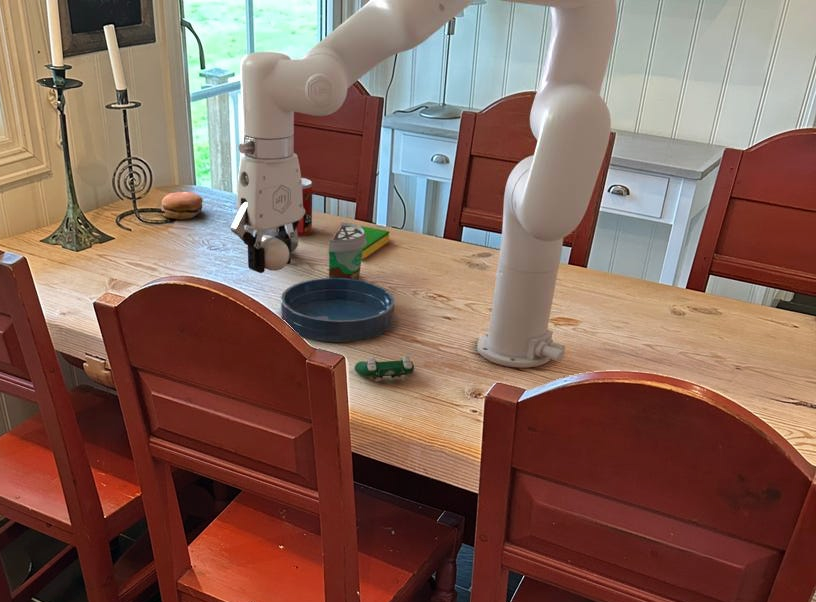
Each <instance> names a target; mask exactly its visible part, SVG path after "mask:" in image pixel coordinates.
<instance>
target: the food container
mask: <svg viewBox="0 0 816 602" xmlns="http://www.w3.org/2000/svg"><path fill="white" fill-rule="evenodd" d="M366 243H367V241H366V235H365V233H364V230H363V229H362V228H361V226H359V225H357V224H353V223H350V222H346V221H345V222H344V221H340V228H339V230H338V231H337V232H336V233H335V235H334V237H333V239H329V240H328V278H348V279H356V280H360V274H361V267H362V260H363V259H362V250H363V247H364V246H365V245H366Z"/></svg>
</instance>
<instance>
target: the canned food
mask: <svg viewBox="0 0 816 602" xmlns="http://www.w3.org/2000/svg"><path fill="white" fill-rule="evenodd" d="M301 181H302V196H303V207H304V209H305V214H304V216H303V217H302V219H301V220H300V221H299V224H298V226H297V228H296V229H297V234H298V237H301V236H302V237H303V236H307V235H309V234H310V233H311V232H312V230H313V229H312V228H313V181H312V180H310V179H308V178H305V177H301Z"/></svg>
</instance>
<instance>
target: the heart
mask: <svg viewBox="0 0 816 602" xmlns="http://www.w3.org/2000/svg"><path fill="white" fill-rule="evenodd" d="M254 232H256V230H254ZM263 235H269V236H272V237H275V235H278V233H277V229H276V228H273V229H269V230H265V231H264V233H263ZM298 246H299V236H298V234H297V229H295V231H294V237H293V239H291V253H293V252H294V251H296V249H297V248H298Z"/></svg>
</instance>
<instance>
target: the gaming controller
mask: <svg viewBox="0 0 816 602" xmlns="http://www.w3.org/2000/svg"><path fill="white" fill-rule="evenodd" d="M354 370H355V372H356V373H357V374H358V375H359V376H361V377H364V378H369V379H372V378H373V380H374V381H375V382H381V381H382V380H383V378H384V377H391V379H392V380H393V381H399V380H400V379H401V377H402V376H408V375H412V374H413V373H414V372H415V364H414V362H413V361H412V359H411V358H410V356H409V355H407V354H406V355H403V357H402V358H401V359H400V360H386V361H377V360H376V358H375V357H373V356H371V357H369V359H368V360H367V361H365V360H364V361H363V360H362V361H357V362H356V364H355V365H354Z"/></svg>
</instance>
